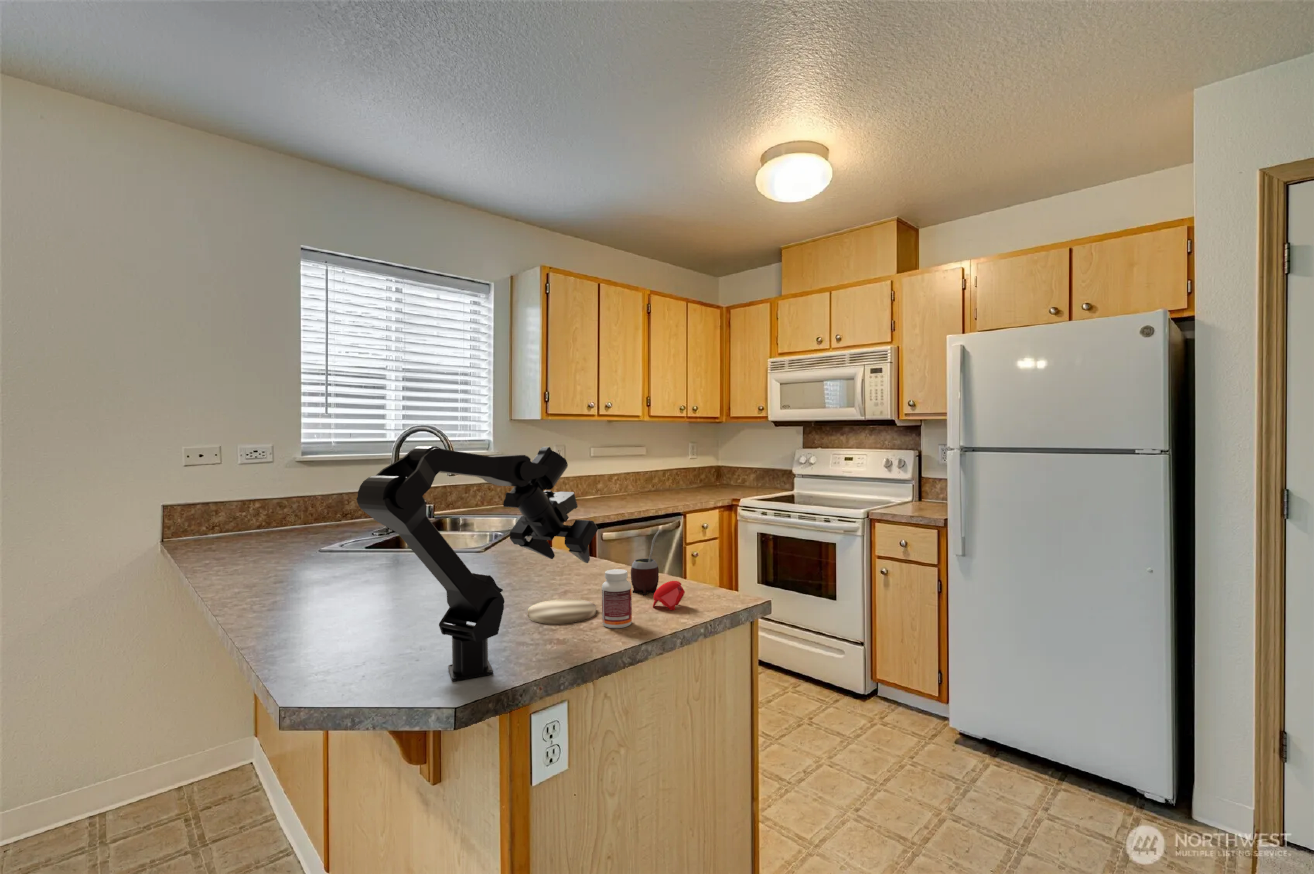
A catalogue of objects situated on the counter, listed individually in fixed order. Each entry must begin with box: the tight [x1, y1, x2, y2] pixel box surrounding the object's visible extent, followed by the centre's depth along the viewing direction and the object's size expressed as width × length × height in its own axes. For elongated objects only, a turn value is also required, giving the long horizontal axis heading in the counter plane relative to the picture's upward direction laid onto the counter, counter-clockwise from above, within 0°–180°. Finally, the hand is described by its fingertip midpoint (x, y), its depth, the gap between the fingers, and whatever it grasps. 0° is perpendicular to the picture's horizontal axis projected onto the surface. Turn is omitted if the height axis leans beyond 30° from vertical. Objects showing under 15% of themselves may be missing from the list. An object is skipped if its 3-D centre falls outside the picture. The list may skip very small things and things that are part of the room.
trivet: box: [527, 598, 597, 625], centre depth 131 cm, size 15×15×1 cm
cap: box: [652, 580, 686, 611], centre depth 135 cm, size 8×6×6 cm
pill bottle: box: [601, 568, 633, 629], centre depth 123 cm, size 6×6×11 cm
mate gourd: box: [630, 529, 661, 596], centre depth 149 cm, size 8×8×15 cm
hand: (570, 559), depth 122 cm, fingers open, 9 cm apart
